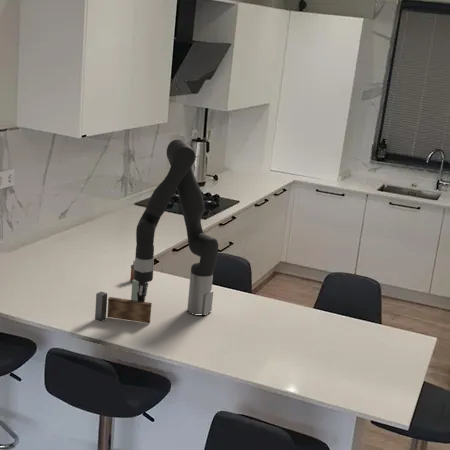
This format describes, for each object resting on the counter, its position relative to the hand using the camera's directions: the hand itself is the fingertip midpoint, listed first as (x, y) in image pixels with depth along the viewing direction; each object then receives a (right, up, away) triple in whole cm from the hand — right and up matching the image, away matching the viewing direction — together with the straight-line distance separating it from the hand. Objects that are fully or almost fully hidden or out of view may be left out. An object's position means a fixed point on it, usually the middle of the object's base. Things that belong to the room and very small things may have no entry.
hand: (141, 308), depth 276 cm
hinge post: (-16, -4, -4) cm, 16 cm away
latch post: (-4, +1, +16) cm, 17 cm away
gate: (-5, -4, -2) cm, 6 cm away
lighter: (-7, +8, +41) cm, 43 cm away
